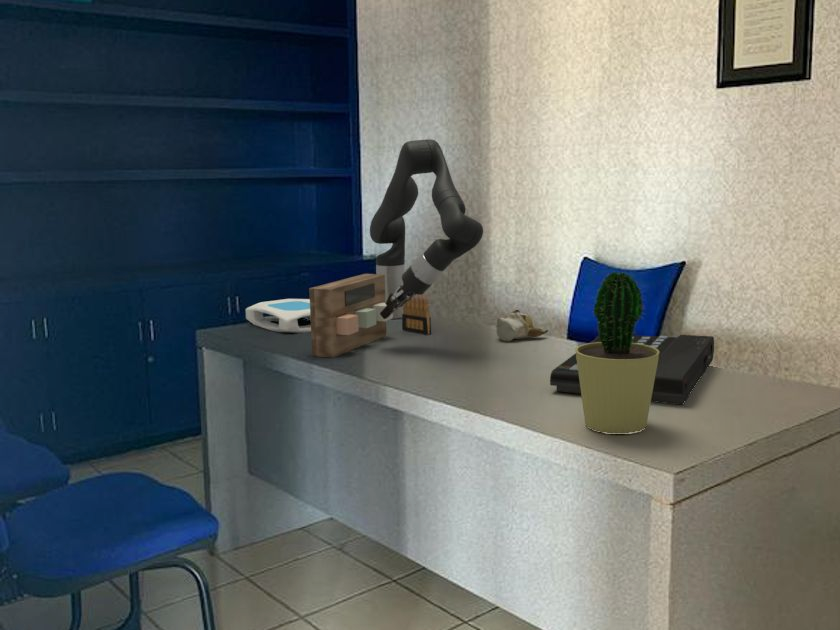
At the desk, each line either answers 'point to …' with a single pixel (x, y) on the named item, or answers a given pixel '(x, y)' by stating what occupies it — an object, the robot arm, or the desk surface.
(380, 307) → the cream key
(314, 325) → the keypad console
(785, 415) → the desk surface
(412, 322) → the ammunition clip
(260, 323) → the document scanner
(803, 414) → the desk surface
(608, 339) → the potted cactus
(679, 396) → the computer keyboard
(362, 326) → the sage key
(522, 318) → the ceramic sculpture
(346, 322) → the terracotta key
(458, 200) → the robot arm
